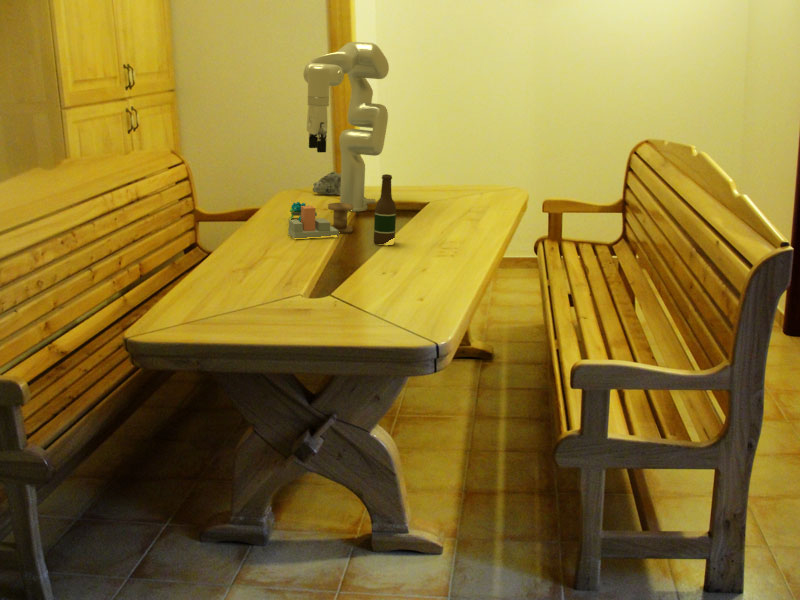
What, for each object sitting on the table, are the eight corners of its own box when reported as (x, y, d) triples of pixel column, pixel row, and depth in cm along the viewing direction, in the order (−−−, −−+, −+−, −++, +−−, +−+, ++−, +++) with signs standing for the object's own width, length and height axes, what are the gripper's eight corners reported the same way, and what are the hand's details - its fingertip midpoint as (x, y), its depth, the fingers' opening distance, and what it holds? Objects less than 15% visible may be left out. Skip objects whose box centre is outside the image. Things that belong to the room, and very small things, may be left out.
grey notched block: (331, 232, 352) (331, 217, 350) (338, 237, 345) (338, 222, 343) (288, 234, 346) (288, 219, 344) (294, 240, 339) (294, 224, 337)
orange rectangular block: (300, 228, 345) (301, 206, 342) (311, 227, 346) (312, 205, 344) (304, 231, 341) (304, 208, 339) (314, 230, 343) (315, 208, 340)
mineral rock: (311, 195, 414) (311, 171, 411) (320, 191, 424) (320, 168, 421) (340, 198, 411) (340, 174, 408) (348, 193, 421) (349, 170, 418)
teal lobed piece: (322, 216, 369) (308, 200, 361) (316, 229, 366) (302, 213, 359) (299, 215, 375) (285, 200, 368) (293, 228, 372) (279, 213, 365)
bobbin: (347, 227, 361) (348, 202, 358) (355, 233, 353) (356, 207, 350) (324, 228, 357) (324, 203, 354) (332, 234, 349) (332, 208, 347)
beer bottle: (398, 242, 342) (402, 174, 335) (389, 247, 335) (392, 178, 328) (379, 239, 345) (381, 172, 338) (369, 244, 338) (371, 175, 331)
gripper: (300, 98, 351) (300, 146, 356) (315, 104, 336) (314, 154, 341) (320, 98, 354) (319, 146, 359) (336, 104, 339) (334, 153, 344)
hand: (317, 150), depth 350 cm, fingers open, 9 cm apart
